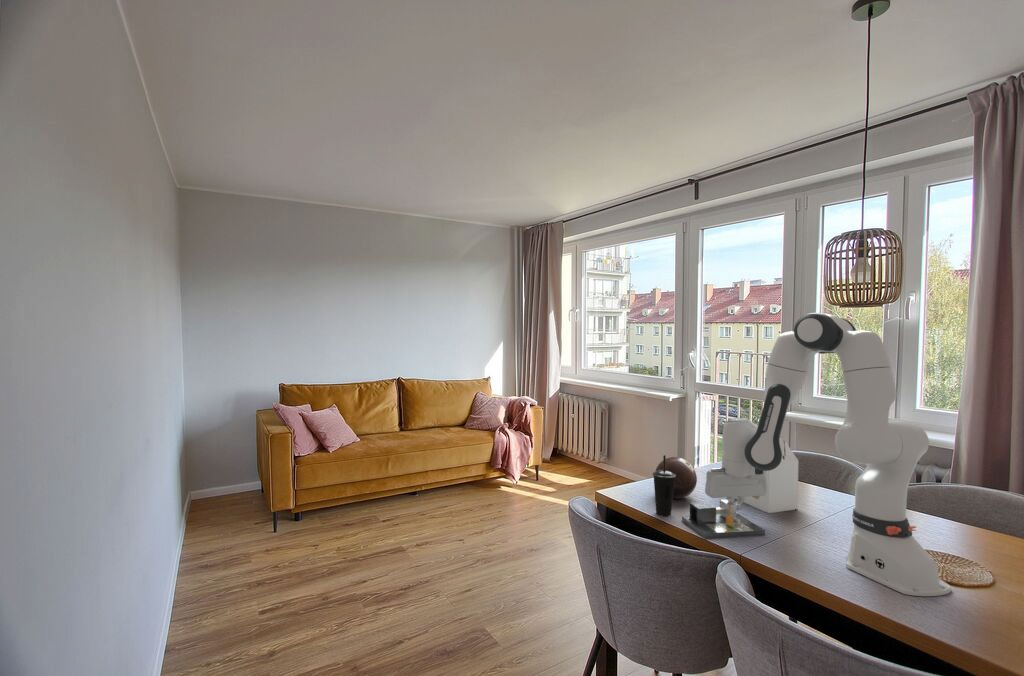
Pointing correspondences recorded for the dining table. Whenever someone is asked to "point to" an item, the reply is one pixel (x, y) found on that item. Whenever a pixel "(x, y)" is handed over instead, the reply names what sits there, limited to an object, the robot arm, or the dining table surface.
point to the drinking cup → (664, 490)
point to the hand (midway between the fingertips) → (735, 509)
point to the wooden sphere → (680, 476)
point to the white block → (727, 510)
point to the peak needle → (729, 518)
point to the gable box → (779, 486)
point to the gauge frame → (718, 523)
